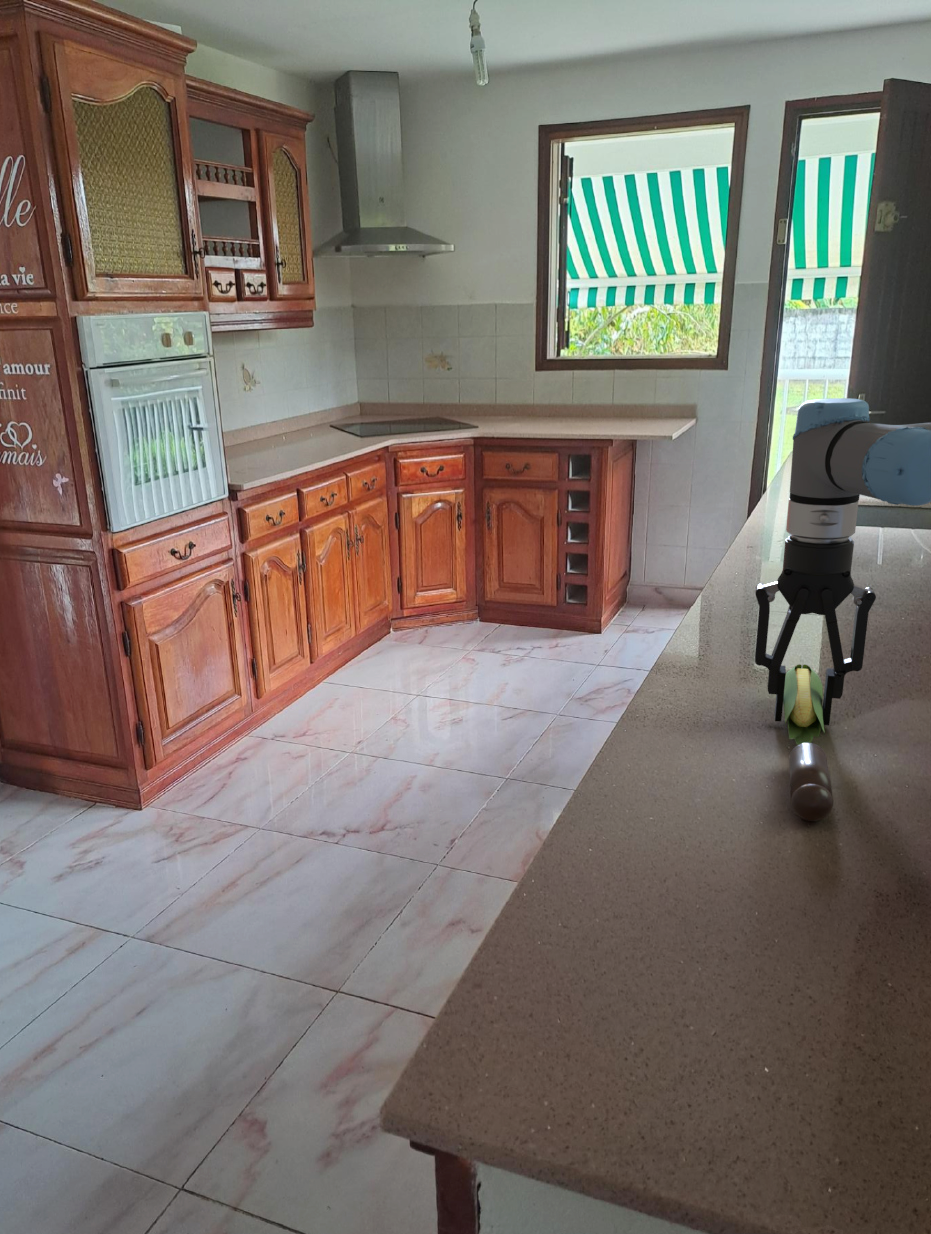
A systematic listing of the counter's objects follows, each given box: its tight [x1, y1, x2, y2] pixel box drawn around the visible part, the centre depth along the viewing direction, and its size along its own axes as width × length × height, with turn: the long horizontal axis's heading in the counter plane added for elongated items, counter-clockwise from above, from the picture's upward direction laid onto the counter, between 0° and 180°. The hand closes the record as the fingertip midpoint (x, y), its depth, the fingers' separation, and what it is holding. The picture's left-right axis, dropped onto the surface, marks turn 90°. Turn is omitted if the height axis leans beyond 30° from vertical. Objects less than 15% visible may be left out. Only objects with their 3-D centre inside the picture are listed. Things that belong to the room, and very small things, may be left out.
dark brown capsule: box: [788, 742, 834, 822], centre depth 103 cm, size 14×4×4 cm, turn 162°
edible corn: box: [783, 663, 825, 746], centre depth 121 cm, size 5×20×5 cm, turn 161°
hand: (801, 718), depth 122 cm, fingers closed on edible corn, 5 cm apart
